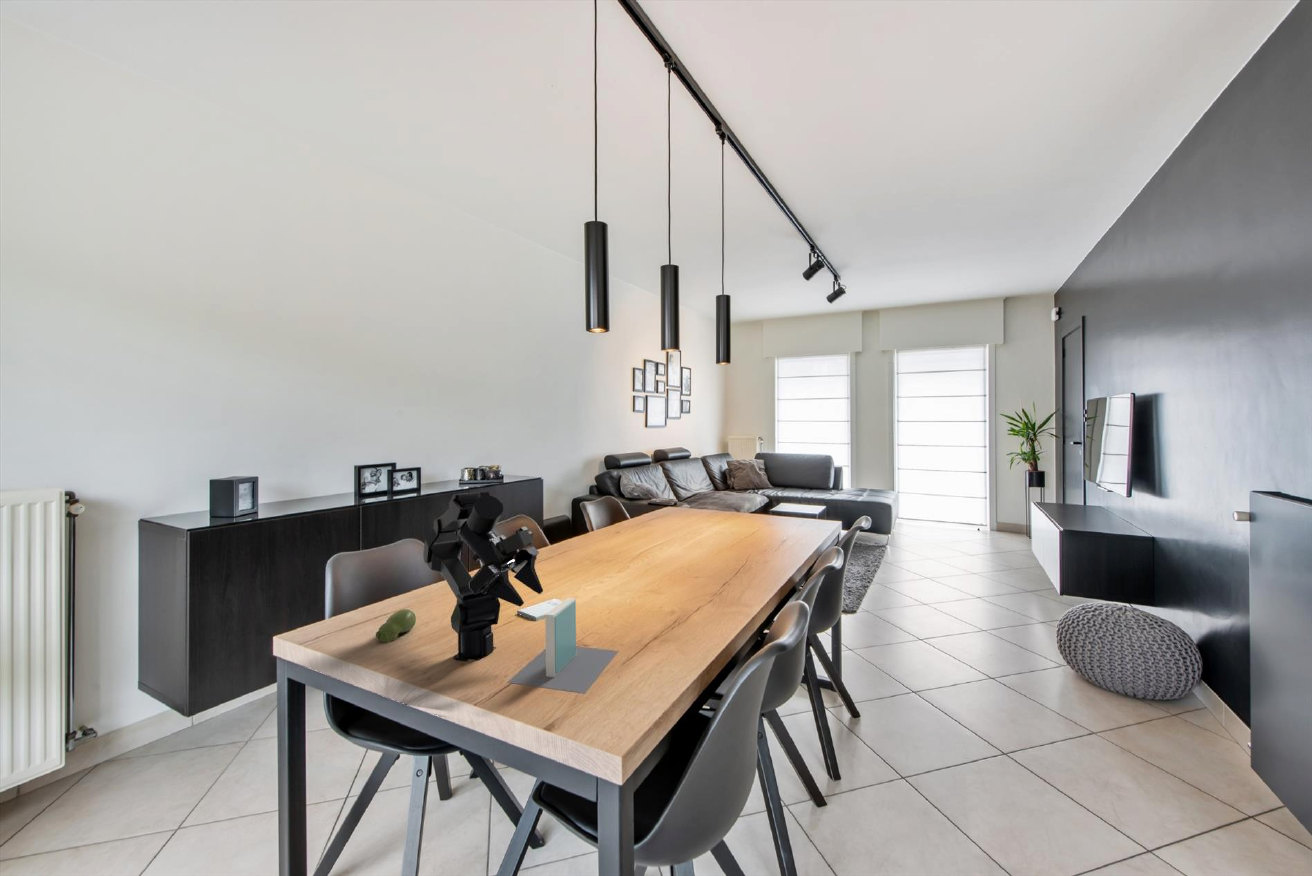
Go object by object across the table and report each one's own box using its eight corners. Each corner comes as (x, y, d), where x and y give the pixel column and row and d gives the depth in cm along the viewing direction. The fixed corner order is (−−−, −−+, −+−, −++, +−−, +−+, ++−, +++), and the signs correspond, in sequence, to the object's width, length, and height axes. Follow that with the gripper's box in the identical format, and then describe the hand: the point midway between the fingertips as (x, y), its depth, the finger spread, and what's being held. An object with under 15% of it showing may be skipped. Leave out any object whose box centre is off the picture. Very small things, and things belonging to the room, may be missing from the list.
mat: (506, 685, 94) (506, 682, 94) (551, 646, 111) (551, 643, 111) (585, 696, 90) (585, 693, 90) (618, 653, 107) (618, 651, 107)
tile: (546, 676, 96) (545, 614, 96) (568, 654, 106) (567, 597, 106) (555, 677, 96) (554, 615, 96) (576, 655, 105) (576, 598, 105)
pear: (419, 606, 122) (388, 628, 113) (422, 626, 123) (391, 650, 113) (400, 604, 124) (368, 626, 114) (403, 624, 124) (371, 647, 115)
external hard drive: (517, 616, 132) (554, 603, 141) (536, 623, 126) (573, 609, 136) (516, 610, 132) (554, 597, 141) (536, 617, 126) (573, 603, 136)
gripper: (481, 524, 95) (534, 586, 92) (530, 510, 113) (576, 561, 110) (446, 563, 97) (497, 625, 94) (500, 543, 115) (544, 594, 112)
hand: (532, 598), depth 102 cm, fingers open, 8 cm apart
